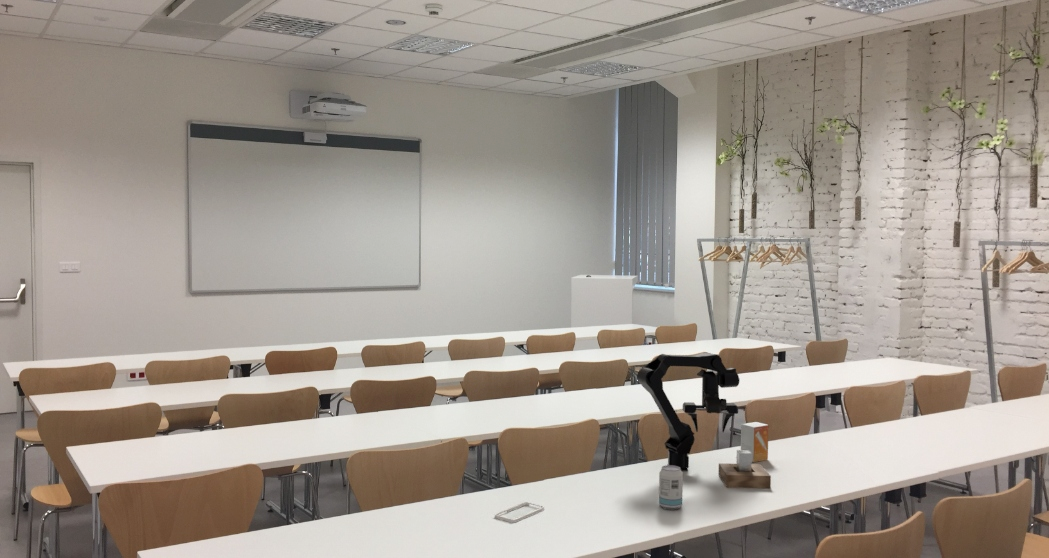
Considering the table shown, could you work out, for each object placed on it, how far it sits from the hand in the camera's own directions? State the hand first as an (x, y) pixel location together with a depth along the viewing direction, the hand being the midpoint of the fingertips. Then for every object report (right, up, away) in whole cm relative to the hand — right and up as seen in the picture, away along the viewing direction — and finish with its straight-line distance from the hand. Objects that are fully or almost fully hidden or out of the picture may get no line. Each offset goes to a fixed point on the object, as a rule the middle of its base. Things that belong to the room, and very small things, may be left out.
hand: (709, 431), depth 289 cm
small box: (+18, -12, +9) cm, 24 cm away
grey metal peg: (+7, -13, -19) cm, 24 cm away
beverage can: (-22, -14, -45) cm, 53 cm away
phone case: (-67, -15, -51) cm, 86 cm away
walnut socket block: (+7, -13, -19) cm, 24 cm away
